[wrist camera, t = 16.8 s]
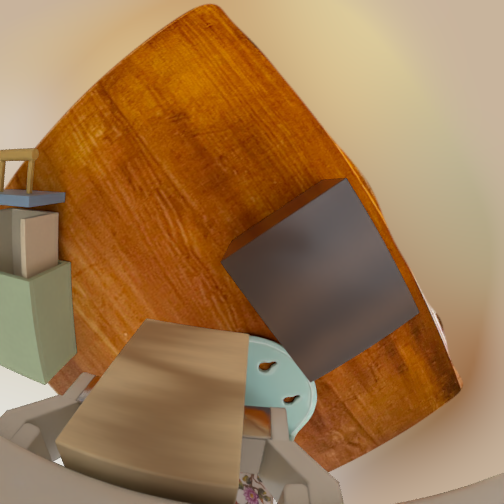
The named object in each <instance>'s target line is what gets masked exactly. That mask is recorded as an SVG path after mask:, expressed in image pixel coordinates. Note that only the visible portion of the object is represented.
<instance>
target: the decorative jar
mask: <svg viewBox="0 0 504 504" xmlns="http://www.w3.org/2000/svg"><path fill="white" fill-rule="evenodd" d="M235 504H273V496H272V495H271V493H270V492H269V491H268V489H267V488H266V486H265V485H264V484H263V482H262V481H261V479H260V478H259V477H258V475H257V474H248V473H240V475H239V488H238V493H237V498H236V503H235Z"/></svg>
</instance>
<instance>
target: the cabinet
mask: <svg viewBox="0 0 504 504" xmlns="http://www.w3.org/2000/svg"><path fill="white" fill-rule="evenodd" d="M76 353H77V347H76V338H75V329H74V318H73V305H72V287H71V262H67V261H62V260H58V265H57V266H55V267H53V268H50V269H48V270H46V271H44V272H42V273H40V274H37V275H35V276H33V277H31V278H29V279H28V278H24V277H20V276H16V275H12V274H9V273H5V272H1V271H0V365H1V366H3V367H5V368H7V369H10V370H12V371H14V372H16V373H18V374H21V375H23V376H25V377H27V378H30V379H32V380H34V381H37V382H40V383H42V384H44V385H45V384H47V383H48V381H49V380H50V379H51V378H52V377H53V376H54V375H55V374H56V373H57V372H58V371H59V370H60V369H61V368H62V367H63V366H64V365H65V364H66V363H67V362H68V361H69V360H70V359H71V358H72V357H73V356H74V355H75V354H76Z"/></svg>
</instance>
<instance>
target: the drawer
mask: <svg viewBox="0 0 504 504" xmlns="http://www.w3.org/2000/svg"><path fill="white" fill-rule="evenodd" d="M38 156H39V151H38V149H36V148H30V149H9V150H0V205H8V206H18V207H35V206H42V205H48V204H55V203H62V202H65V193H64V192H50V191H35V190H32V189H33V175H34V164H35V161H34V160H36V159H37V158H38ZM28 160H29V163H28V174H27V188H26V190H17V189H7V190H4V174H5V161H28ZM58 216H59V213H58V212H49V211H40V210H30V209H20V208H7V209H1V210H0V271H1V272H5V273H9V274H12V275H16V276H20V277H24V278H28V279H29V278H31V277H33V276H35V275H37V274H40V273H42V272H44V271H46V270H48V269H50V268H53V267H55V266H57V265H58Z"/></svg>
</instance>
